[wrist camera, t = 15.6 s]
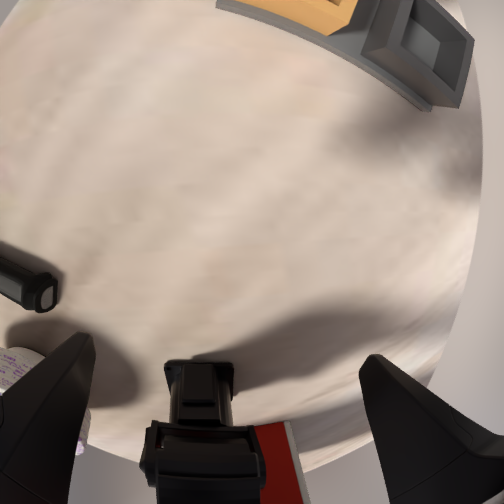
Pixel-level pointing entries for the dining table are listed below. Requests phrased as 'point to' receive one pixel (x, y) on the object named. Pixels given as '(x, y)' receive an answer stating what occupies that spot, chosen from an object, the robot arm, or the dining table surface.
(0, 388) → the paper bowls
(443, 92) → the two-tone square organizer tray
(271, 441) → the arched-top grey box
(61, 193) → the dining table surface
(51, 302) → the electric trimmer
